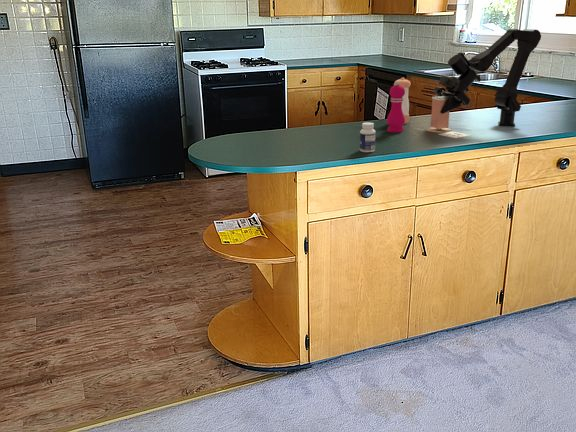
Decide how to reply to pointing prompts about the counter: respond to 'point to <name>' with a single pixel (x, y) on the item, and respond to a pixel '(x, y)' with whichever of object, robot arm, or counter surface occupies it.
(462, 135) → the tile
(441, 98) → the tea tin
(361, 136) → the pill bottle
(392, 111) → the pepper mill
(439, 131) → the cork coaster
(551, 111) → the counter surface
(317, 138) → the counter surface
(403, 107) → the salt shaker
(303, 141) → the counter surface
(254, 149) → the counter surface
